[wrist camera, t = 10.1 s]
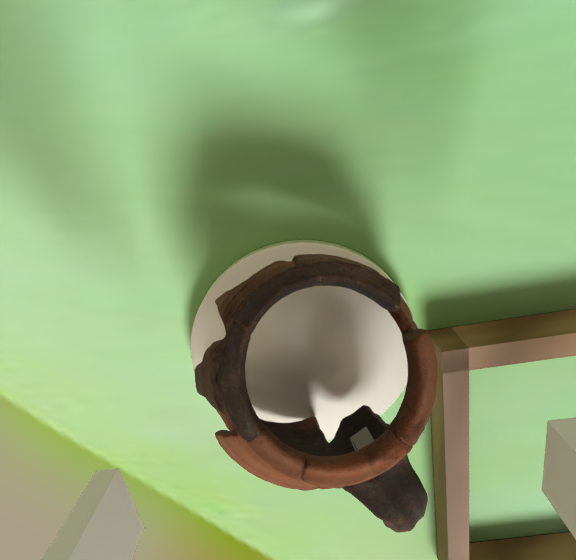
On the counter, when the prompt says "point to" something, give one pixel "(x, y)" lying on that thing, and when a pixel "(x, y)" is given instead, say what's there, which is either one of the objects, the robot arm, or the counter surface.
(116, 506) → the robot arm
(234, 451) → the brown hollow round piece
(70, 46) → the counter surface
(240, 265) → the white dome
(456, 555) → the walnut frame
